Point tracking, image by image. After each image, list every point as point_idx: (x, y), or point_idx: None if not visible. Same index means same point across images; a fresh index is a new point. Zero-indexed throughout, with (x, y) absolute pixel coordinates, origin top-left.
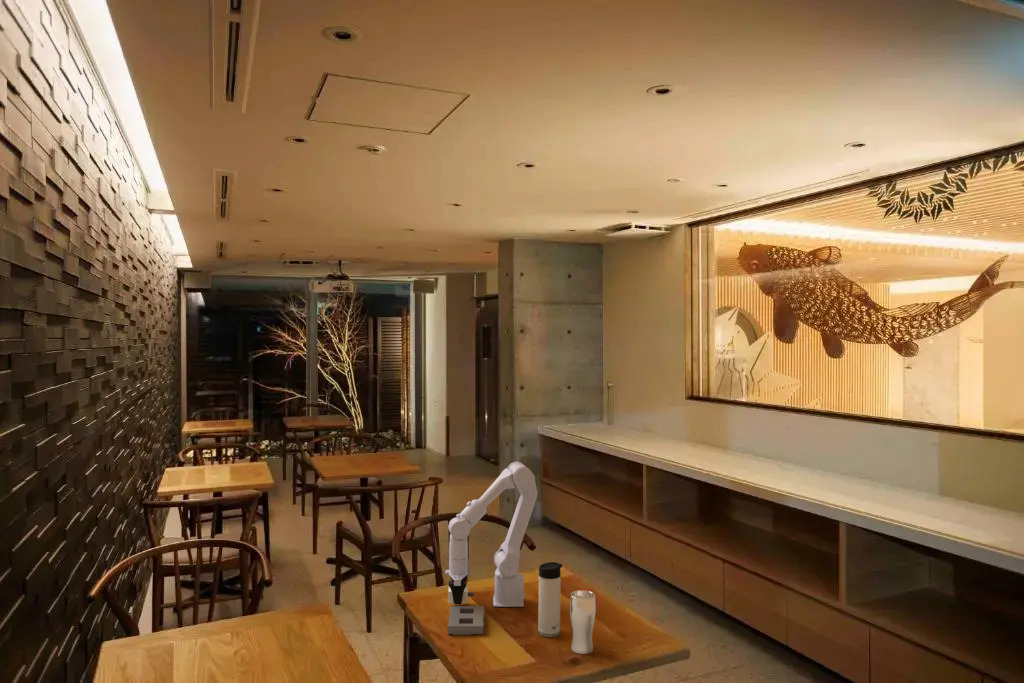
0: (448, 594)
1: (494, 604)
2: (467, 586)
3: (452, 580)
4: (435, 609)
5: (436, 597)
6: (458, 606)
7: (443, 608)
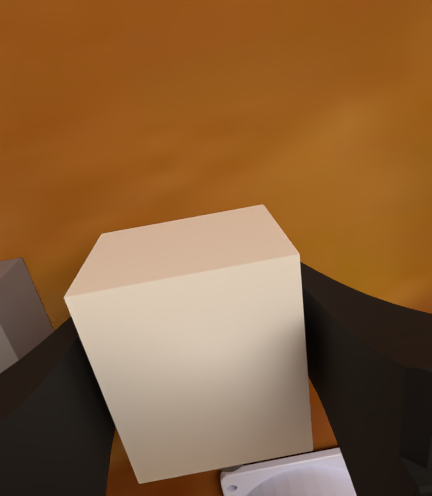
0: (77, 282)
1: (236, 479)
2: (296, 449)
3: (352, 344)
4: (83, 90)
5: (390, 21)
6: (8, 359)
7: (128, 166)
